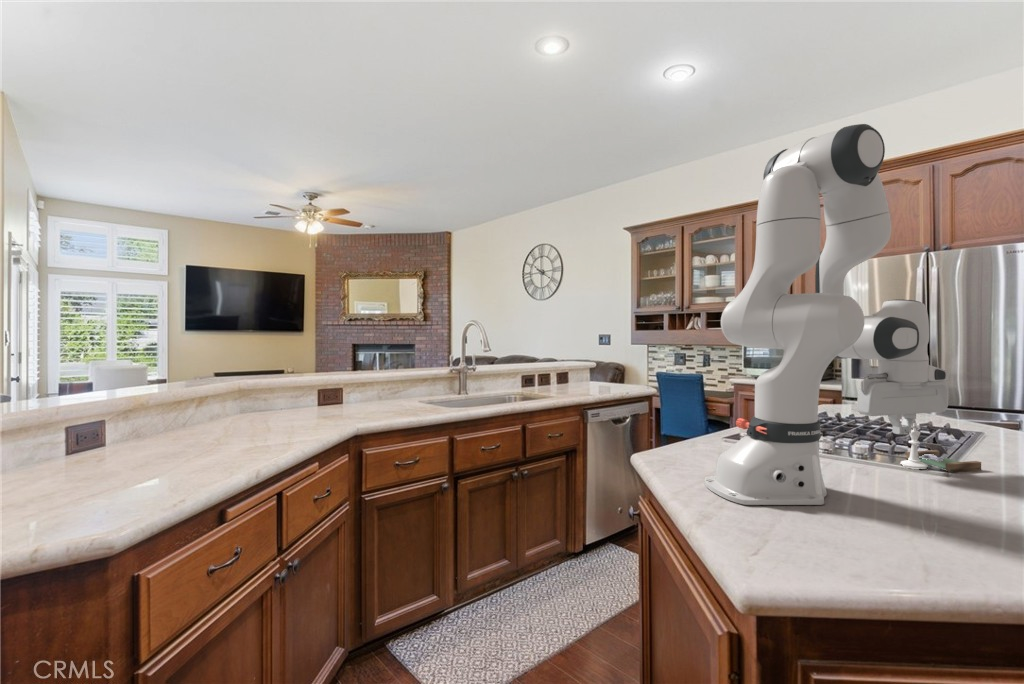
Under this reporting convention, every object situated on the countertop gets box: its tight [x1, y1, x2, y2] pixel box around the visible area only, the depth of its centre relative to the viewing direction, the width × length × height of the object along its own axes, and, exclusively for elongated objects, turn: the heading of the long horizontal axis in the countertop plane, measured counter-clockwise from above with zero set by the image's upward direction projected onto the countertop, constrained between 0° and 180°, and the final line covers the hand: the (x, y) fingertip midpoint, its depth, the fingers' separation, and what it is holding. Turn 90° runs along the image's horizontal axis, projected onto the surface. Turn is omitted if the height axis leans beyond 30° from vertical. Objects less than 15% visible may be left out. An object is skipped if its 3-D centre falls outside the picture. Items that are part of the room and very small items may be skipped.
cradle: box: [905, 449, 982, 473], centre depth 111 cm, size 8×10×2 cm
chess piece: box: [899, 422, 929, 468], centre depth 109 cm, size 5×5×10 cm
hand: (901, 433), depth 109 cm, fingers closed
